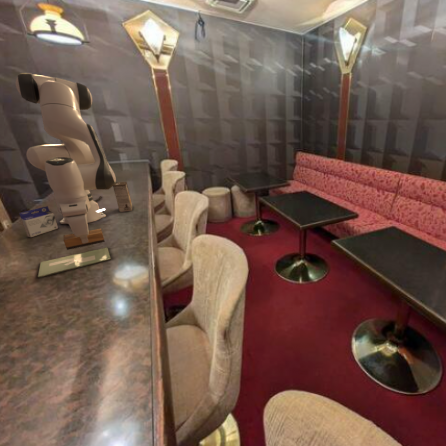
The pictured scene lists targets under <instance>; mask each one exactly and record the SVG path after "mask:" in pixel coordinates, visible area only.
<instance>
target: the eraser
mask: <svg viewBox="0 0 446 446" xmlns="http://www.w3.org/2000/svg"><path fill="white" fill-rule="evenodd" d="M87 238H88V243H82V241H81V238H80V237H76V236H75V235H74V234H73V233H70V234H65V235H63V243H64V246H65V249H66V251H69V250H74V249H78V248H83V247H88V246H93V245H98V244H103V243H105V242H106V241H105V237H104V234H103V230H102V228H97V229H91V230H89V235H87Z"/></svg>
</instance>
